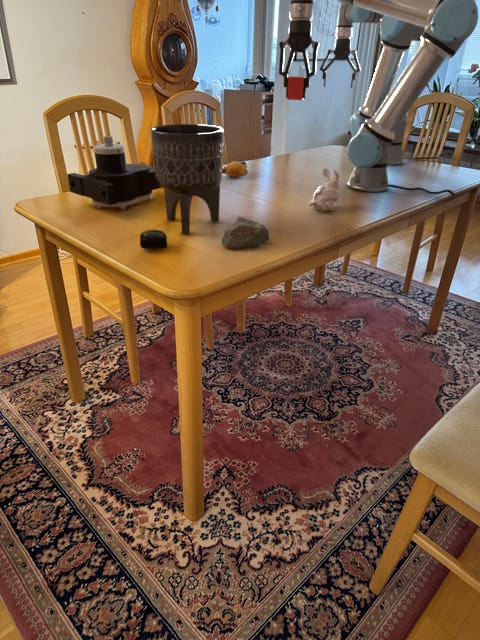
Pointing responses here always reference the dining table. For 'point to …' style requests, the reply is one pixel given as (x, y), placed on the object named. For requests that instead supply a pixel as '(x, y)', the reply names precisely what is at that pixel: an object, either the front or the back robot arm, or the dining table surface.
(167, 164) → the planter
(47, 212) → the dining table surface
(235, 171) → the toy
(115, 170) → the mechanical component
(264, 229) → the rock
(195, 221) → the dining table surface
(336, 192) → the figurine
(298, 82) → the brick
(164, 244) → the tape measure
